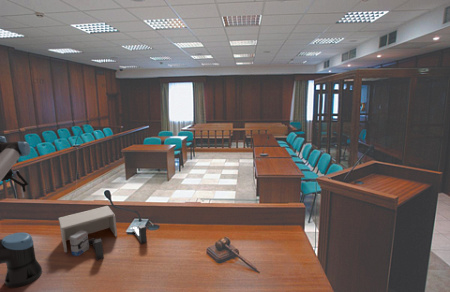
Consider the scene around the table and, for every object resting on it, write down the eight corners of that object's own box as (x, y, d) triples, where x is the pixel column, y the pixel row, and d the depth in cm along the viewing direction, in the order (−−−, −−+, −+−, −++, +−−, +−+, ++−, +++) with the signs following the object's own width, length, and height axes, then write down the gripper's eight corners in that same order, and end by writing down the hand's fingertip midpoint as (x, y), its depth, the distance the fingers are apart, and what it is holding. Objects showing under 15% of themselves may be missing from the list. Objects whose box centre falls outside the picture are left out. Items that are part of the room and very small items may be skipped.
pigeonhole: (117, 236, 172) (115, 213, 169) (64, 252, 154) (61, 228, 151) (111, 226, 185) (108, 205, 182) (62, 240, 168) (58, 217, 164)
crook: (103, 258, 149) (101, 240, 147) (79, 266, 141) (76, 248, 139) (96, 241, 166) (94, 225, 164) (74, 248, 159) (72, 232, 157)
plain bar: (146, 242, 164) (145, 226, 162) (141, 244, 162) (140, 228, 160) (136, 230, 180) (135, 215, 178) (131, 231, 178) (130, 216, 176)
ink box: (77, 256, 151) (75, 238, 148) (71, 254, 152) (69, 236, 150) (89, 248, 158) (87, 231, 156) (83, 247, 160) (81, 229, 158)
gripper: (29, 159, 152) (35, 193, 156) (-29, 166, 138) (-21, 203, 142) (29, 161, 146) (35, 196, 151) (-31, 169, 132) (-23, 208, 136)
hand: (8, 200), depth 146 cm, fingers open, 13 cm apart
